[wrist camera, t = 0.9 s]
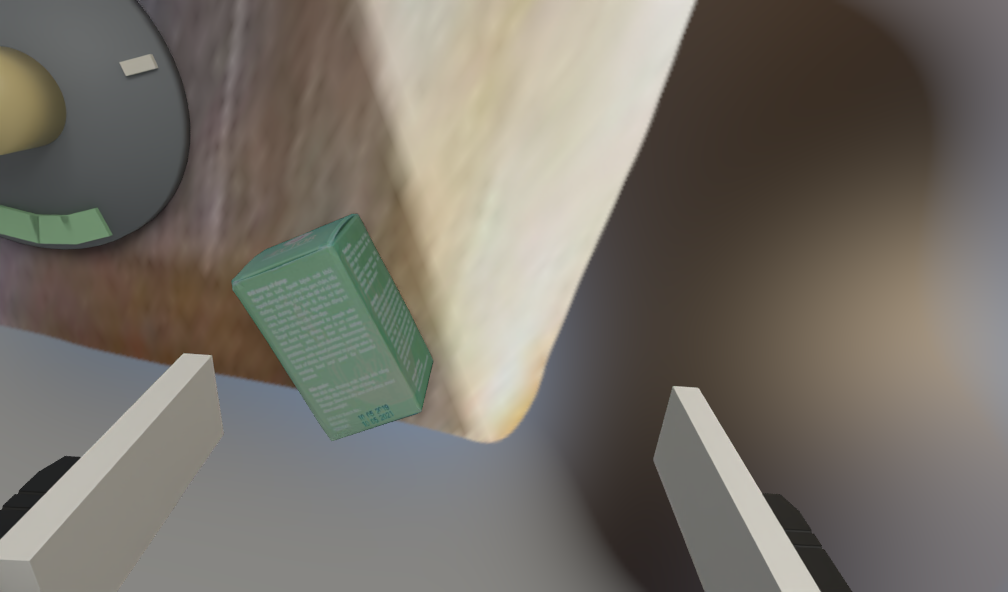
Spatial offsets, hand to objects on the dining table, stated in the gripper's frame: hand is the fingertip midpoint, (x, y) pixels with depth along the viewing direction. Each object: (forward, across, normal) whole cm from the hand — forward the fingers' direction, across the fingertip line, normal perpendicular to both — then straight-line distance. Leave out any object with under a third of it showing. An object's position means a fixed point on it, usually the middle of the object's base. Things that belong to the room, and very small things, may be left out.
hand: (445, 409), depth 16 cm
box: (+25, -8, -9) cm, 28 cm away
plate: (+25, -29, +4) cm, 39 cm away
